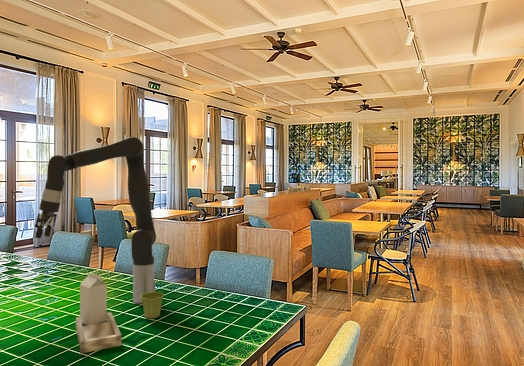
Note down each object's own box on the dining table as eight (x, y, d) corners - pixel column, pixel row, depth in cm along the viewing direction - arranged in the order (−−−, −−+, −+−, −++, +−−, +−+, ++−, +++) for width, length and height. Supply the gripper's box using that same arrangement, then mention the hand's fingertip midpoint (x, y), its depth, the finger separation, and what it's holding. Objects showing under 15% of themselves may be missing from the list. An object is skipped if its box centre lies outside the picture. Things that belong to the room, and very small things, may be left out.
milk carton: (89, 327, 148) (89, 277, 147) (79, 322, 152) (79, 274, 151) (106, 321, 153) (106, 273, 153) (96, 317, 158) (97, 270, 157)
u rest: (111, 320, 154) (111, 312, 154) (121, 345, 132) (121, 335, 132) (75, 326, 148) (75, 317, 148) (80, 353, 126) (80, 342, 126)
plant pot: (139, 313, 162) (139, 292, 162) (162, 310, 166) (162, 290, 166) (140, 321, 154) (141, 299, 154) (165, 318, 157) (165, 297, 157)
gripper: (53, 201, 162) (44, 240, 161) (66, 202, 176) (58, 237, 175) (34, 198, 161) (25, 237, 160) (49, 198, 175) (40, 234, 174)
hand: (42, 237), depth 167 cm, fingers open, 8 cm apart
